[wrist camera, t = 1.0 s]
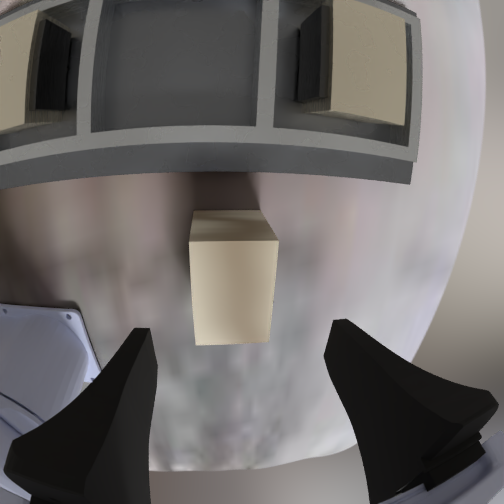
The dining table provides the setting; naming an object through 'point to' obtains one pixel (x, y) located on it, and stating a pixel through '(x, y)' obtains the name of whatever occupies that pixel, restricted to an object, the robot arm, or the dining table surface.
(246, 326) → the birch block
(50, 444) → the robot arm
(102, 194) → the dining table surface
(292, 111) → the rail
